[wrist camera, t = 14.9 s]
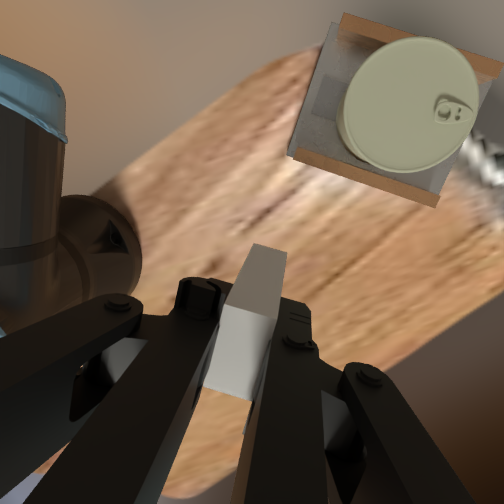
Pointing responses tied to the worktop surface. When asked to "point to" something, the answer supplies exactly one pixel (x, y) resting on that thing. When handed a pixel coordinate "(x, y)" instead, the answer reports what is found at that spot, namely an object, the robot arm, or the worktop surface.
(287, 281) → the worktop surface
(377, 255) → the worktop surface
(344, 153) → the rail holder
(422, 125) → the can
